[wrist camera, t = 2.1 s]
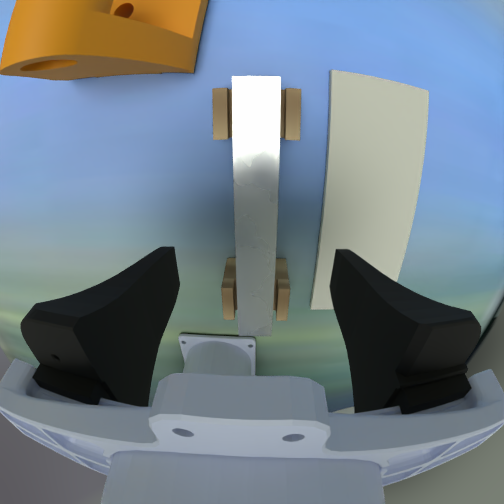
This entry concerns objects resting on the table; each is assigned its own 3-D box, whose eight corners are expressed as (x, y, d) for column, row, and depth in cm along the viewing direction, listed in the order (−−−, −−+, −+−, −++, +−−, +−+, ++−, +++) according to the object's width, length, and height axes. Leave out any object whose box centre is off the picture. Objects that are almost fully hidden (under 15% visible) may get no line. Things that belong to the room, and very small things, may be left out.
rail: (270, 314, 22) (271, 336, 20) (240, 314, 22) (238, 335, 20) (277, 81, 14) (280, 76, 12) (236, 81, 14) (232, 76, 12)
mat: (386, 302, 25) (388, 306, 25) (309, 305, 25) (310, 309, 25) (424, 90, 15) (428, 90, 15) (329, 70, 16) (331, 69, 15)
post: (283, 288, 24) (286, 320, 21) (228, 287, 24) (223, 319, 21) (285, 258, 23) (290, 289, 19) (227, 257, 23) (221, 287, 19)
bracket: (213, -9, 13) (166, -102, 2) (196, 74, 16) (113, 37, 6) (89, 5, 12) (-10, -24, 2) (74, 80, 16) (-42, 90, 5)
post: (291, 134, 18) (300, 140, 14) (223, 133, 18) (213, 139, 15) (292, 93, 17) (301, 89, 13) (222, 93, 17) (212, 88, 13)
